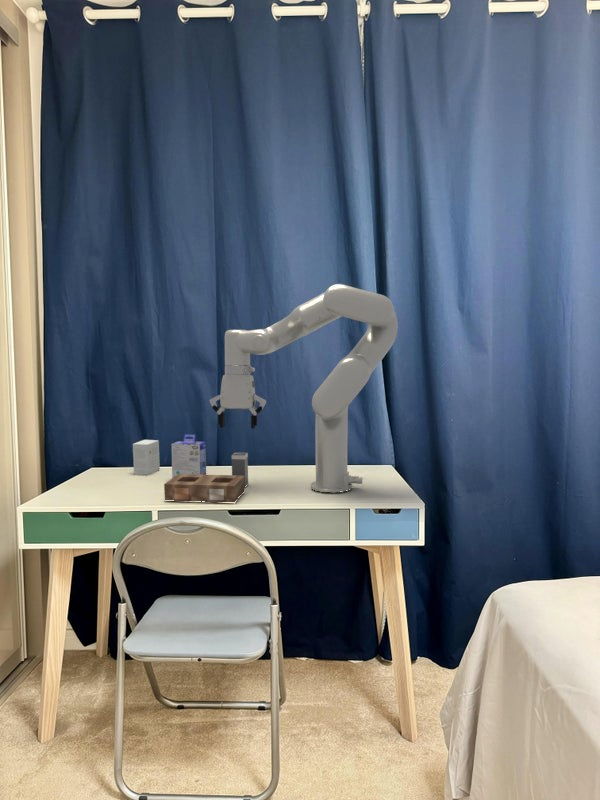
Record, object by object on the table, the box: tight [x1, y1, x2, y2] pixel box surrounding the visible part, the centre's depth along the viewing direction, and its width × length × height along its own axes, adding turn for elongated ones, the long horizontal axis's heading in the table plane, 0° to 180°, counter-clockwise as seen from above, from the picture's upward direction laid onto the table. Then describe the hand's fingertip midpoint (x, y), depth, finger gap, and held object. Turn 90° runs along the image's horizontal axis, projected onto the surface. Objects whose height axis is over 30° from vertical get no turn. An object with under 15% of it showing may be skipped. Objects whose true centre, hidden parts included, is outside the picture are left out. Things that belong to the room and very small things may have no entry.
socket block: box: [163, 474, 246, 502], centre depth 172 cm, size 20×12×5 cm, turn 82°
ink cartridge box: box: [171, 433, 207, 479], centre depth 192 cm, size 10×6×14 cm, turn 78°
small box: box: [132, 439, 161, 476], centre depth 203 cm, size 8×6×10 cm
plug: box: [231, 452, 249, 486], centre depth 183 cm, size 4×4×10 cm
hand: (237, 427), depth 182 cm, fingers open, 9 cm apart
